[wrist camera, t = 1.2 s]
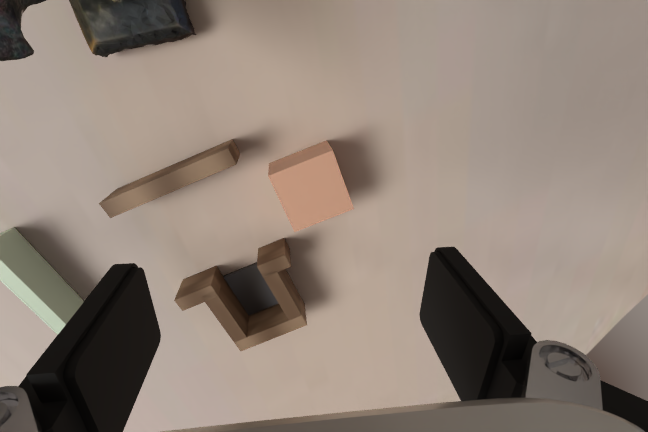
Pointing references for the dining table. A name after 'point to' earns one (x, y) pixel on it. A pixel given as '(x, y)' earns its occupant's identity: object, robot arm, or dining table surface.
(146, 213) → the dining table surface
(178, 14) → the statue
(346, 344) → the dining table surface
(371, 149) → the dining table surface
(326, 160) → the block
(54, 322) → the light green plank
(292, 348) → the dining table surface
